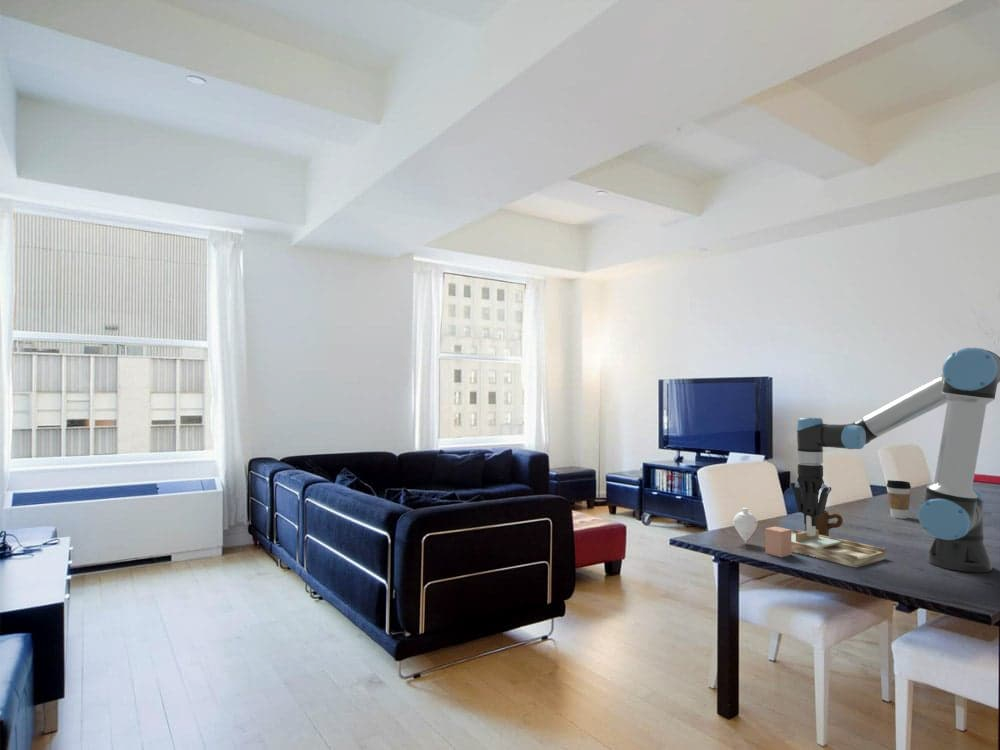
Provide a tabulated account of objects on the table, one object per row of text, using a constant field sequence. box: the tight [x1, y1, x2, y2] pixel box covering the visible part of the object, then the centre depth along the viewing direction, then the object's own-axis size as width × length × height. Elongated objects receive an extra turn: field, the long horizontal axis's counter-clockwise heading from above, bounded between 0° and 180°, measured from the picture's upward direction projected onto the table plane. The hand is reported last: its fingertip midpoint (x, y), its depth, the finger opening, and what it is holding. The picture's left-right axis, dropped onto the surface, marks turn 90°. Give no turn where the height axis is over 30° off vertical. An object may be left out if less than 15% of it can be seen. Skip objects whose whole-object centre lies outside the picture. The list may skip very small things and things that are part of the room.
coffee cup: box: [886, 479, 912, 520], centre depth 244 cm, size 8×8×15 cm
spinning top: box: [732, 507, 758, 544], centre depth 203 cm, size 8×8×12 cm
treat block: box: [764, 526, 793, 558], centre depth 190 cm, size 6×6×8 cm
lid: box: [791, 530, 841, 548], centre depth 197 cm, size 14×15×3 cm
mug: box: [804, 510, 844, 537], centre depth 210 cm, size 12×8×9 cm, turn 51°
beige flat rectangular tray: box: [791, 529, 887, 568], centre depth 192 cm, size 30×17×3 cm, turn 31°
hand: (811, 535), depth 196 cm, fingers closed
